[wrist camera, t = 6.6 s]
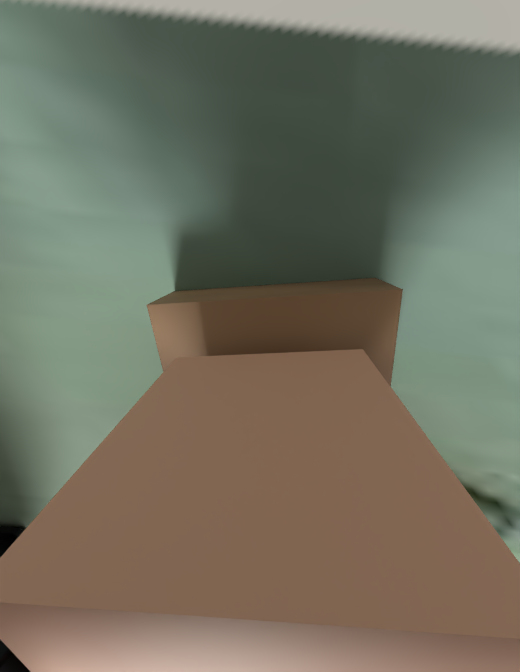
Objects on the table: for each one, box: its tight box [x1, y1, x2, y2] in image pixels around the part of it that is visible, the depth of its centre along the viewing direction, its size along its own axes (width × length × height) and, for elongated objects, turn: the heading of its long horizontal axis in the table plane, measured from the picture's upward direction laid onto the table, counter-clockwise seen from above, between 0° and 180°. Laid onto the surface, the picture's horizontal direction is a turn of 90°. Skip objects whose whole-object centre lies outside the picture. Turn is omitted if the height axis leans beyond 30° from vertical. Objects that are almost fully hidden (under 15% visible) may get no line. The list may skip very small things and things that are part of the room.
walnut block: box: [147, 278, 403, 385], centre depth 12 cm, size 9×9×3 cm
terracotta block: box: [0, 349, 520, 672], centre depth 6 cm, size 6×6×6 cm
